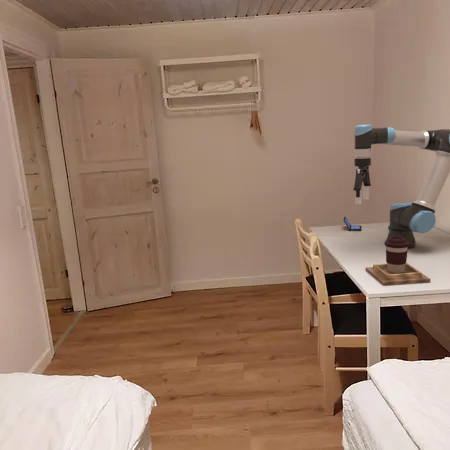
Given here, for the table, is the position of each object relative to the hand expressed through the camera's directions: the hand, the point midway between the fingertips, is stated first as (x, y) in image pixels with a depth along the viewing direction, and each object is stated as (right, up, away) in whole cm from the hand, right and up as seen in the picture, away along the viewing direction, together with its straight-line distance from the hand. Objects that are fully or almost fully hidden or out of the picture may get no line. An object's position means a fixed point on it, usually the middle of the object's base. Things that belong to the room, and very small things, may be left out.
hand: (362, 201), depth 213 cm
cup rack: (+8, -34, -22) cm, 41 cm away
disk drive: (+40, -16, +54) cm, 69 cm away
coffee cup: (+9, -32, -20) cm, 39 cm away
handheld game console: (+15, -14, +67) cm, 70 cm away
